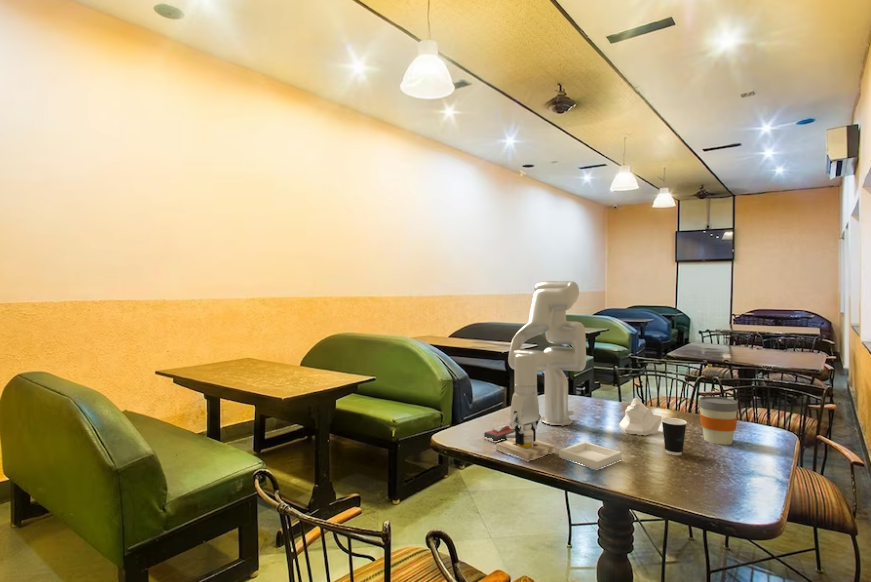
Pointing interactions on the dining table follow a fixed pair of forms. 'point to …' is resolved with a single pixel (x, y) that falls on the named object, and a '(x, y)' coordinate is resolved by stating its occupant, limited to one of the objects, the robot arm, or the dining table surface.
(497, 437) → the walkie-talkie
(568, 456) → the tray
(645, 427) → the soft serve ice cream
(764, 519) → the dining table surface
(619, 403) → the dining table surface
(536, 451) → the socket block
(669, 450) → the dixie cup
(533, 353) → the robot arm
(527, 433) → the supplement bottle
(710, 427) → the reusable coffee cup
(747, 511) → the dining table surface
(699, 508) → the dining table surface
